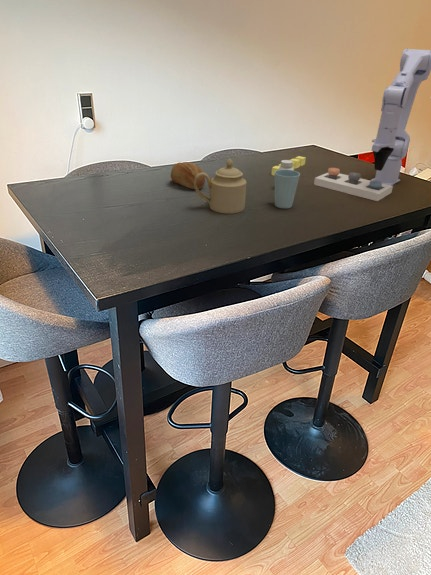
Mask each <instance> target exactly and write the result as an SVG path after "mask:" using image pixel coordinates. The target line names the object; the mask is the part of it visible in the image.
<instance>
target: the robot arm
mask: <svg viewBox="0 0 431 575" xmlns="http://www.w3.org/2000/svg"><path fill="white" fill-rule="evenodd" d="M430 74H431V49H413V48H405V49H404V50H403V51H402V54H401V57H400V61H399V72H398V73H397V74H396V75H395V77H394V79H393V81H392V82H391V84H390V85H389V86H388V87H387V86H386V87H385V90H384V92H383V95H382V102H381V103H382V104H381V115H380V119H379V125H378V127H377V133H376V137H375V138H374V139H372V140H371V143H373V144H372V146H371V152H372V154H373V158H374V160H373V161H374V163H373V164H374V171H375V170H376V172H375V177H374V178H371V179H370V181H372V180H376V181H380V182H382V183H383V184H387V185H391V186H394V185H395V184H397V183H399V182H400V181H401V179H400V178H399V177H400V174H401V168H402V165H403V163H402V160H403V159H404V158H405V157H406V156H407V153H408V150H409V145H410V142H411V136H410V135H409V134H408V132H407V131H406V127H407V124H408V121H409V118H410V115H411V111H412V108H413V105H414V102H415V99H416V95H417V92H418V90H419V88H420V85H421V84H422V82H424V81H426V80H428V77H429V76H430Z"/></svg>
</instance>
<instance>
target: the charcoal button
mask: <svg viewBox="0 0 431 575" xmlns="http://www.w3.org/2000/svg"><path fill="white" fill-rule="evenodd" d="M348 175H349V176H348V179H349V183H351V184H355V185H357V183H358V180H360V178H361V175H362V174H361V173H359V172H356V171H354V172H353V171H352V172H351V171H350V172H349V173H348Z"/></svg>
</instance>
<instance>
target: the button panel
mask: <svg viewBox="0 0 431 575" xmlns="http://www.w3.org/2000/svg"><path fill="white" fill-rule="evenodd" d="M348 176H349V174H344V173H340V172H339V175H337V180H334V179H330V178H328V177H329V174H328V172H326V173H325V172H324V173H323V174H320V175H319V176H316V177H314V181H313V182H314V183H313V186H318V187H321V188H325V189H329V190H333V191H337V192H340V193H344V194H348V195H352V196H356V197H360V198H364V199H367V200H371V201H375V202H379V201H380V200H383V199H384V198H385V197H387V196H388V195H390V194H392V192H393V188H394V185H392V186H391V185H387V184H383V183H382V186H381V188H380V189H379V190H375V189H371V188H370V187H369V184H370V181H371V179H370V180H368V179H365V178H362V177H360V180H358V183H357V185H355V184H351V183H349V179H348Z"/></svg>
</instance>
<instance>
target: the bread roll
mask: <svg viewBox="0 0 431 575" xmlns="http://www.w3.org/2000/svg"><path fill="white" fill-rule="evenodd" d="M201 172H203V170H202V168H200V167H199V166H198V164H195V163H193V162H188V161H183V162H181V161H180V162H179V161H178V163H174V165H173V166H172V168H171V171H170V178H171V180H172V181H173V183H175V184H177V185H181V186H183V187H185V188H188V189H192V190H196V189H195V186H194V179H195V177H196V175H197V174H199V173H201ZM205 183H206V177H205V176H201V177H199V178H198V181H197V186H198V189H199V190H200V189H202V188H203V187H204V186H205Z"/></svg>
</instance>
